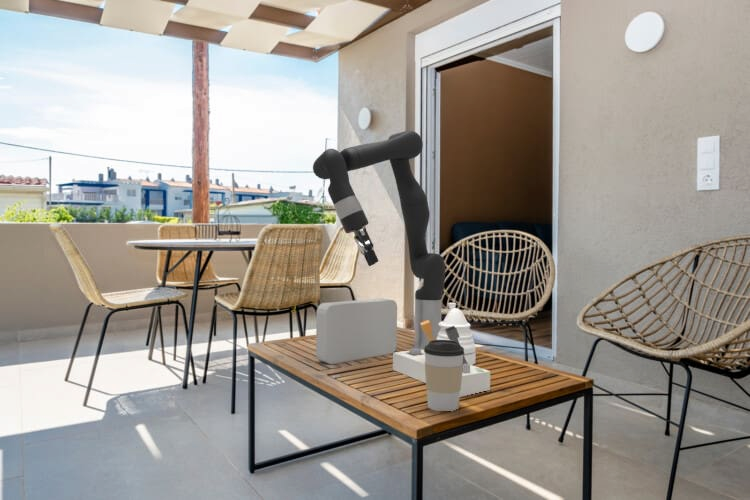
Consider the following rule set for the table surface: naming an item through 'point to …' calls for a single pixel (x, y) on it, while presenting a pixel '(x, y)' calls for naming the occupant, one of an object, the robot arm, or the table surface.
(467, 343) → the honey pot
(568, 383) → the table surface
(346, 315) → the rounded white slab
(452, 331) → the charcoal paddle
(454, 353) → the coffee cup
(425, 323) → the orange paddle
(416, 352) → the grey button
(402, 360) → the white rectangular tray
